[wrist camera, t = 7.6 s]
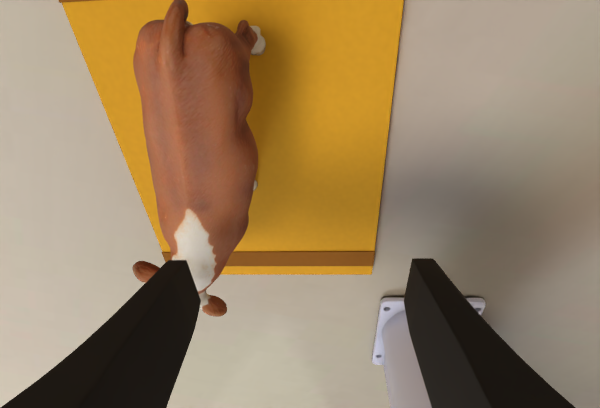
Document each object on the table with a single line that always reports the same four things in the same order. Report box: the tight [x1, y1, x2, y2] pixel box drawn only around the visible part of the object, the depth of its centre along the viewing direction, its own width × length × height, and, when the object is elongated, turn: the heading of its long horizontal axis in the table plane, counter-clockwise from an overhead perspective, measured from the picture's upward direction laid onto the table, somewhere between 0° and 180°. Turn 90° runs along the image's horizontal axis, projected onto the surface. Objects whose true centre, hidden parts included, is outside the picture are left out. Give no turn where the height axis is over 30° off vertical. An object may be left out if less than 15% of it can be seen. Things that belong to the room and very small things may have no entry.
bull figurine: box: [133, 0, 266, 316], centre depth 14 cm, size 4×13×8 cm, turn 168°
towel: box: [59, 0, 404, 274], centre depth 19 cm, size 20×15×1 cm
